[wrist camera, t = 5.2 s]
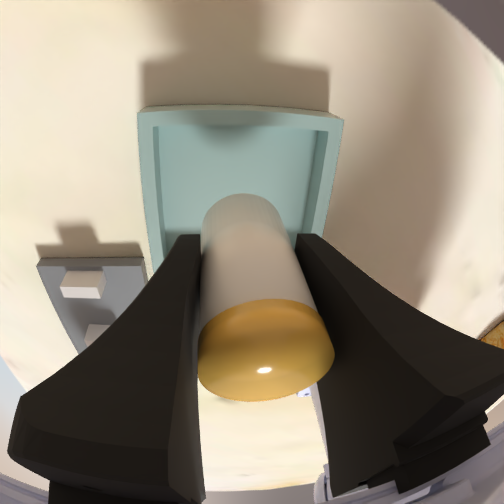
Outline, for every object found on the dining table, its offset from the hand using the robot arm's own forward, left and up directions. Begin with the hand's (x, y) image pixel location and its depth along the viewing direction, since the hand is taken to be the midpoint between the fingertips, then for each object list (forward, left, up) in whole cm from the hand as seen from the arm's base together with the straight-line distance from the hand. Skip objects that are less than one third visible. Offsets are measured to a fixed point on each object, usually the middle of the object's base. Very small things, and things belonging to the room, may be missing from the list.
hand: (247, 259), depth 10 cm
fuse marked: (0, 0, -2) cm, 2 cm away
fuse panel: (+8, +15, -6) cm, 18 cm away
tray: (0, 0, -6) cm, 6 cm away
